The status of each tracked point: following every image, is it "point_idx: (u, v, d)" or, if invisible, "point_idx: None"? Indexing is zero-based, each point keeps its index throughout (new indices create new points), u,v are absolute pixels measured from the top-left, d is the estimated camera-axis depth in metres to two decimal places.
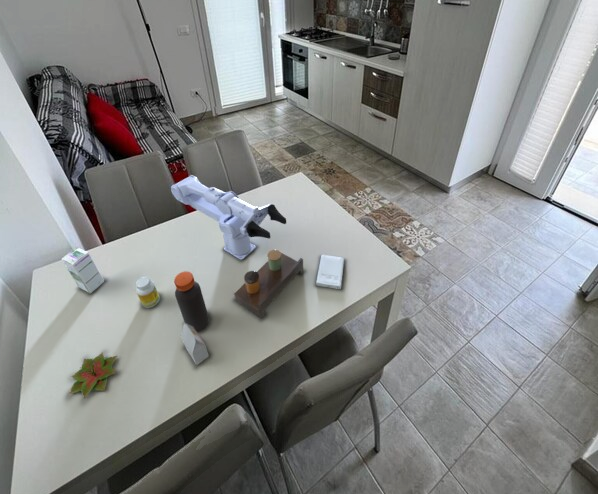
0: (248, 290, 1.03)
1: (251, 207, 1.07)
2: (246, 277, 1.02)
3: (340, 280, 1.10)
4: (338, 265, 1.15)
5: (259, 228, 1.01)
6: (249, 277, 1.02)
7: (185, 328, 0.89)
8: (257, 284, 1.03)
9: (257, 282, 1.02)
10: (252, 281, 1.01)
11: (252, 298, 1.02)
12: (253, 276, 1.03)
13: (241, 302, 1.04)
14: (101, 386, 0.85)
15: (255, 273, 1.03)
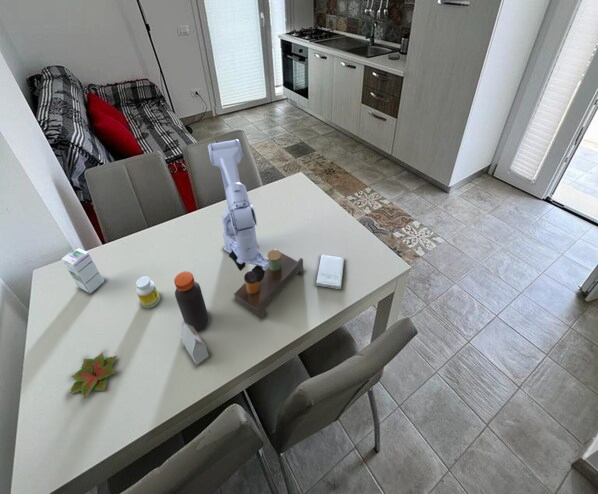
0: (248, 290, 1.03)
1: (242, 254, 0.93)
2: (246, 277, 1.02)
3: (340, 280, 1.10)
4: (338, 265, 1.15)
5: (235, 263, 1.01)
6: (249, 277, 1.02)
7: (185, 328, 0.89)
8: (257, 284, 1.03)
9: (257, 282, 1.02)
10: (252, 281, 1.01)
11: (252, 298, 1.02)
12: (253, 276, 1.03)
13: (241, 302, 1.04)
14: (101, 386, 0.85)
15: None
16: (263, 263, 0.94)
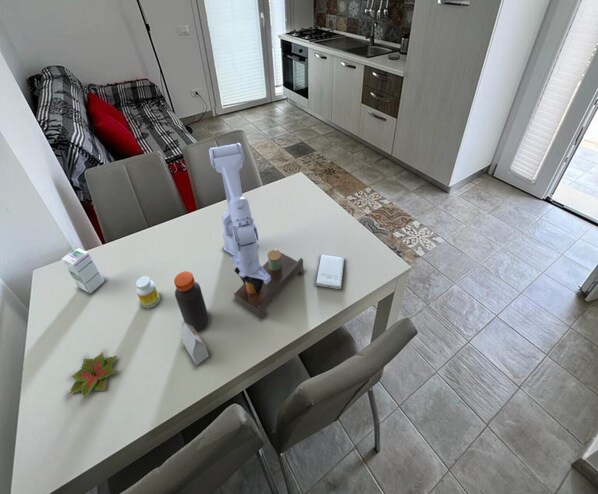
0: (248, 290, 1.03)
1: (244, 268, 0.97)
2: (246, 277, 1.02)
3: (340, 280, 1.10)
4: (338, 265, 1.15)
5: (241, 278, 1.04)
6: (249, 277, 1.02)
7: (185, 328, 0.89)
8: None
9: None
10: None
11: (252, 298, 1.02)
12: None
13: (241, 302, 1.04)
14: (101, 386, 0.85)
15: None
16: (264, 277, 0.97)
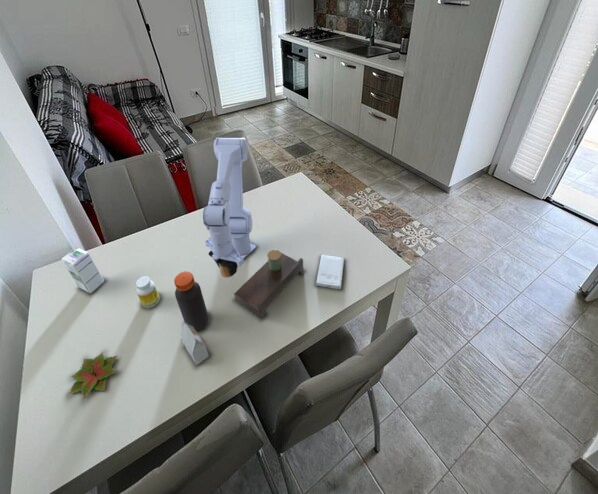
0: (223, 274, 1.03)
1: (217, 250, 0.96)
2: (220, 260, 1.01)
3: (340, 280, 1.10)
4: (338, 265, 1.15)
5: (215, 261, 1.03)
6: (223, 260, 1.01)
7: (185, 328, 0.89)
8: None
9: None
10: None
11: (252, 298, 1.02)
12: None
13: (241, 302, 1.04)
14: (101, 386, 0.85)
15: None
16: (237, 259, 0.96)
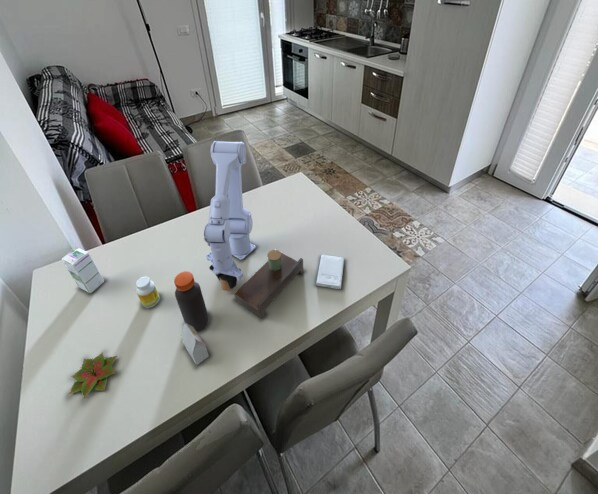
0: (223, 287, 1.06)
1: (217, 265, 1.00)
2: (221, 274, 1.05)
3: (340, 280, 1.10)
4: (338, 265, 1.15)
5: (216, 275, 1.07)
6: (223, 274, 1.05)
7: (185, 328, 0.89)
8: None
9: None
10: None
11: (252, 298, 1.02)
12: None
13: (241, 302, 1.04)
14: (101, 386, 0.85)
15: None
16: (237, 274, 1.00)
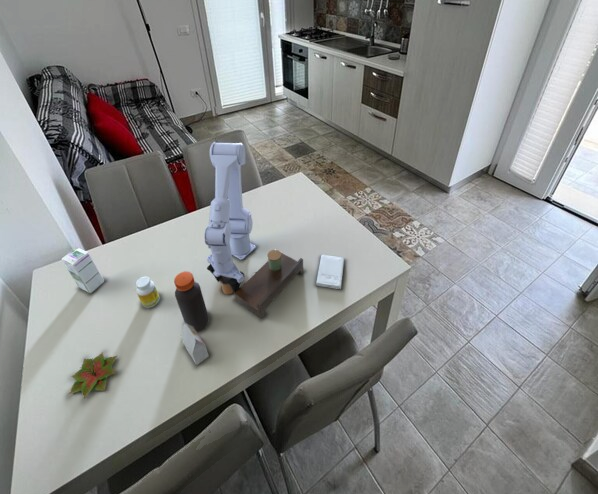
0: (224, 291, 1.07)
1: (218, 268, 1.00)
2: (221, 278, 1.06)
3: (340, 280, 1.10)
4: (338, 265, 1.15)
5: (214, 275, 1.08)
6: (224, 278, 1.06)
7: (185, 328, 0.89)
8: None
9: None
10: None
11: (252, 298, 1.02)
12: (228, 277, 1.07)
13: (241, 302, 1.04)
14: (101, 386, 0.85)
15: None
16: (238, 276, 1.01)
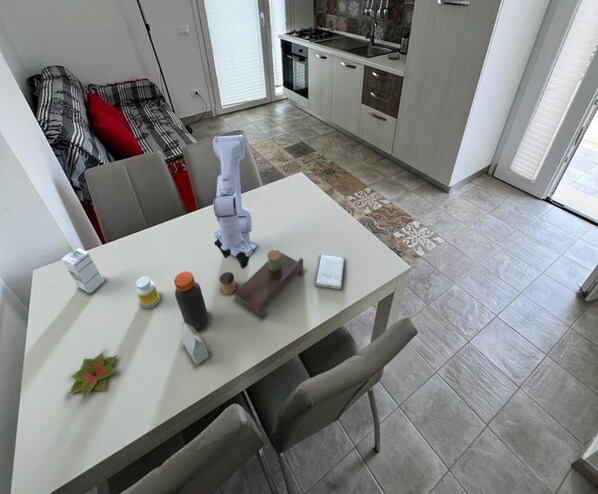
0: (224, 291, 1.07)
1: (226, 241, 0.98)
2: (221, 278, 1.06)
3: (340, 280, 1.10)
4: (338, 265, 1.15)
5: (221, 251, 1.05)
6: (224, 278, 1.06)
7: (185, 328, 0.89)
8: (232, 285, 1.07)
9: (232, 283, 1.06)
10: (227, 282, 1.05)
11: (252, 298, 1.02)
12: (228, 277, 1.07)
13: (241, 302, 1.04)
14: (101, 386, 0.85)
15: (230, 274, 1.08)
16: (246, 249, 0.98)
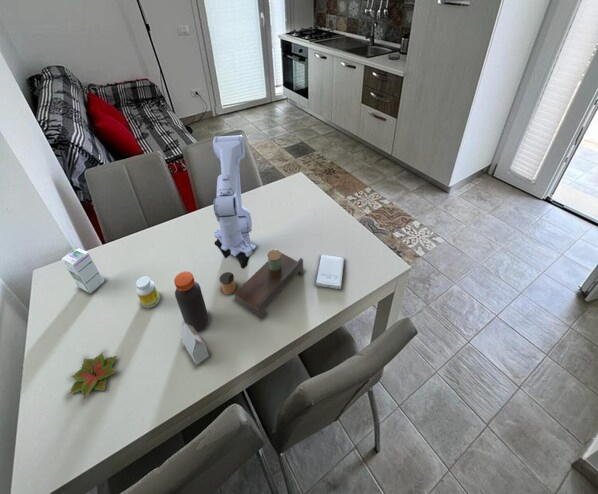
0: (224, 291, 1.07)
1: (226, 241, 0.98)
2: (221, 278, 1.06)
3: (340, 280, 1.10)
4: (338, 265, 1.15)
5: (221, 251, 1.05)
6: (224, 278, 1.06)
7: (185, 328, 0.89)
8: (232, 285, 1.07)
9: (232, 283, 1.06)
10: (227, 282, 1.05)
11: (252, 298, 1.02)
12: (228, 277, 1.07)
13: (241, 302, 1.04)
14: (101, 386, 0.85)
15: (230, 274, 1.08)
16: (246, 249, 0.98)
